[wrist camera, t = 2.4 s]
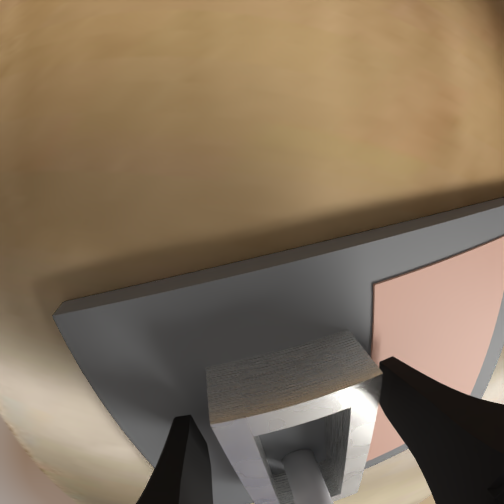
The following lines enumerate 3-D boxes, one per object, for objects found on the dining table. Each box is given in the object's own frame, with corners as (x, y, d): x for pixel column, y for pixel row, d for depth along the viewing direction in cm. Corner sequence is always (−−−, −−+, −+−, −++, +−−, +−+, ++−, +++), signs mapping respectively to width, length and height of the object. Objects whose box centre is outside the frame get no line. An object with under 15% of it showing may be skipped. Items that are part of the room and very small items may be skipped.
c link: (257, 485, 13) (265, 520, 10) (205, 367, 9) (209, 424, 7) (342, 460, 13) (357, 492, 11) (348, 329, 10) (383, 373, 7)
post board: (197, 498, 14) (203, 558, 9) (63, 301, 9) (-4, 398, 4) (472, 396, 16) (506, 432, 11) (518, 193, 11) (586, 215, 6)
